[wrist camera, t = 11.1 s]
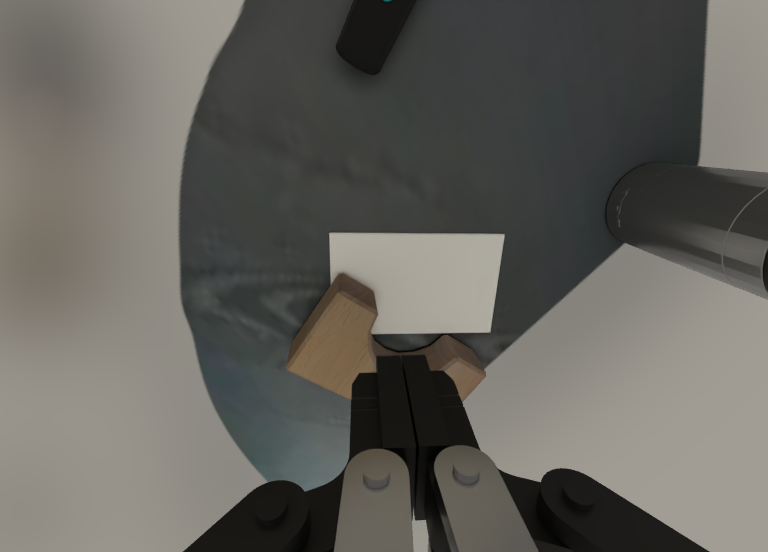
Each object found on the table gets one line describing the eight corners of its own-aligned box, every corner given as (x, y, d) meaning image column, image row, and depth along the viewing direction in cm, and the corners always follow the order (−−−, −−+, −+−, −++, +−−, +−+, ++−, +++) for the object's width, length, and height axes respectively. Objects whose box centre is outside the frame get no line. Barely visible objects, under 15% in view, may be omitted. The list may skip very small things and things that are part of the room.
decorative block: (340, 289, 36) (489, 375, 42) (340, 269, 41) (472, 348, 47) (283, 372, 39) (431, 441, 45) (290, 343, 44) (421, 408, 50)
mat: (503, 233, 42) (504, 234, 41) (488, 330, 46) (490, 332, 46) (329, 232, 40) (329, 233, 40) (332, 332, 45) (332, 334, 44)
